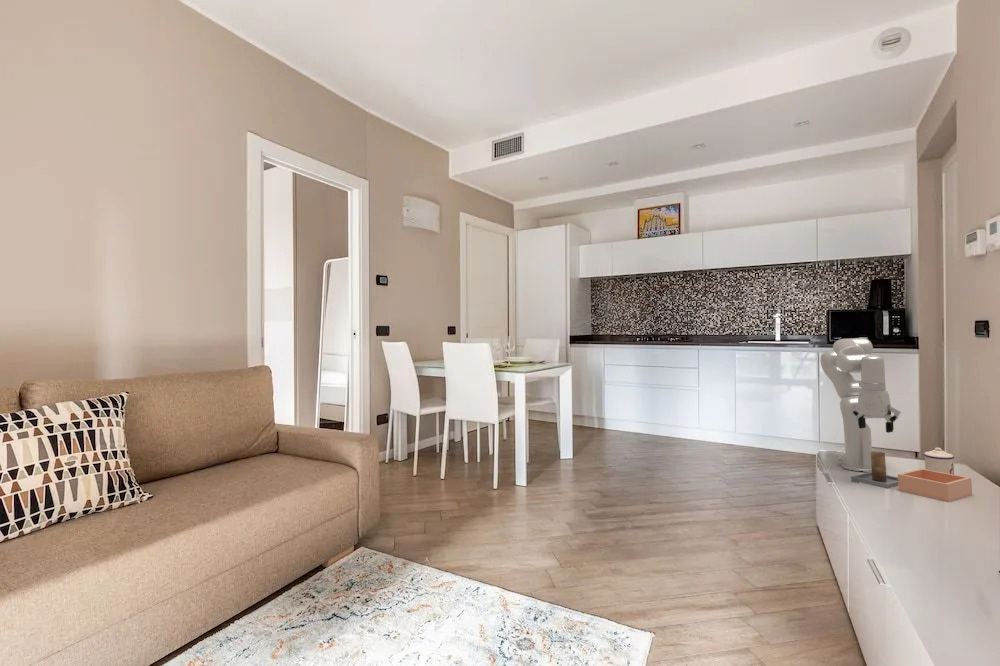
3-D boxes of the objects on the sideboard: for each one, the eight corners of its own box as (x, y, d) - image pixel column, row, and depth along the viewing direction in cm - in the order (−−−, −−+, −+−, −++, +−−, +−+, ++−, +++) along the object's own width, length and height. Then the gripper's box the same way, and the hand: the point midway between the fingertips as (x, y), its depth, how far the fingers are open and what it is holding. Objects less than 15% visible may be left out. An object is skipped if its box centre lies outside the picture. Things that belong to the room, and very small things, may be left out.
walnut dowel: (869, 479, 191) (867, 452, 191) (876, 478, 193) (874, 450, 193) (882, 482, 187) (880, 454, 187) (889, 481, 188) (887, 453, 189)
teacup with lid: (957, 481, 188) (956, 451, 188) (927, 478, 193) (925, 449, 193) (950, 473, 198) (949, 445, 198) (921, 471, 203) (920, 443, 203)
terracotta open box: (898, 491, 179) (897, 474, 179) (921, 485, 185) (920, 468, 185) (948, 503, 165) (947, 484, 165) (972, 496, 171) (971, 477, 171)
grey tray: (851, 481, 193) (851, 476, 193) (871, 476, 198) (871, 471, 198) (887, 489, 181) (887, 484, 181) (908, 484, 186) (907, 479, 186)
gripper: (844, 386, 197) (846, 427, 197) (892, 389, 181) (895, 435, 181) (856, 384, 200) (858, 425, 200) (904, 388, 184) (906, 432, 184)
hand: (875, 430), depth 191 cm, fingers open, 9 cm apart
